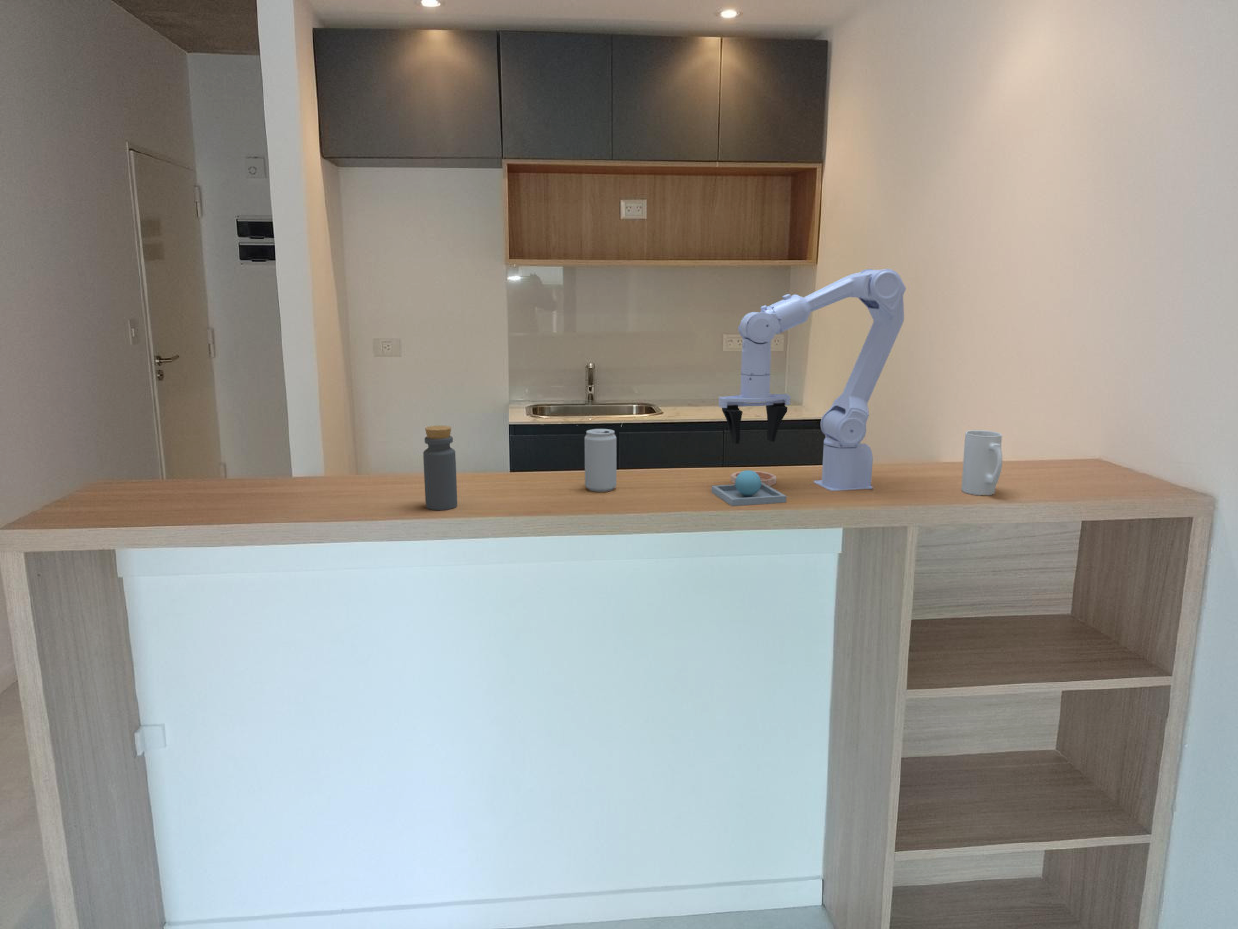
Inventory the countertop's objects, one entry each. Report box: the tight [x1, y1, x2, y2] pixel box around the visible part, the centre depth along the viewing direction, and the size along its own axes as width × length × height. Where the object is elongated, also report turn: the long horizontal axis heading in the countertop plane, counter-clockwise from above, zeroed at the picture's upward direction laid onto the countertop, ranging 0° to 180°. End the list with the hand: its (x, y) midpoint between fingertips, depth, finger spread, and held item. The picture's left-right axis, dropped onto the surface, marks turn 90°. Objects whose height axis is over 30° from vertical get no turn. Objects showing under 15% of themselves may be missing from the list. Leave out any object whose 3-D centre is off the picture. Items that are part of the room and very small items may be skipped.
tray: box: [710, 483, 787, 507], centre depth 168 cm, size 11×11×2 cm
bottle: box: [422, 425, 458, 511], centre depth 161 cm, size 6×6×15 cm
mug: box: [961, 429, 1003, 496], centre depth 171 cm, size 10×7×12 cm, turn 9°
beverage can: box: [584, 428, 617, 493], centre depth 174 cm, size 6×6×12 cm
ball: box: [735, 469, 761, 496], centre depth 168 cm, size 5×5×5 cm
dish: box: [730, 470, 777, 487], centre depth 180 cm, size 9×9×2 cm
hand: (753, 441), depth 173 cm, fingers open, 7 cm apart
